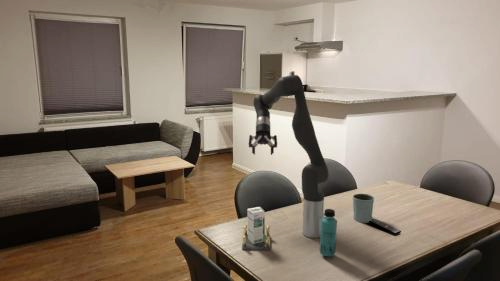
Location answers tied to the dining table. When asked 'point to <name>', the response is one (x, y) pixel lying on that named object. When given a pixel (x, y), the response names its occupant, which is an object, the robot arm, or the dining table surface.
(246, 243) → the chassis plate
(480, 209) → the dining table surface
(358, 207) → the teal cup
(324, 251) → the beverage bottle
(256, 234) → the syrup box
